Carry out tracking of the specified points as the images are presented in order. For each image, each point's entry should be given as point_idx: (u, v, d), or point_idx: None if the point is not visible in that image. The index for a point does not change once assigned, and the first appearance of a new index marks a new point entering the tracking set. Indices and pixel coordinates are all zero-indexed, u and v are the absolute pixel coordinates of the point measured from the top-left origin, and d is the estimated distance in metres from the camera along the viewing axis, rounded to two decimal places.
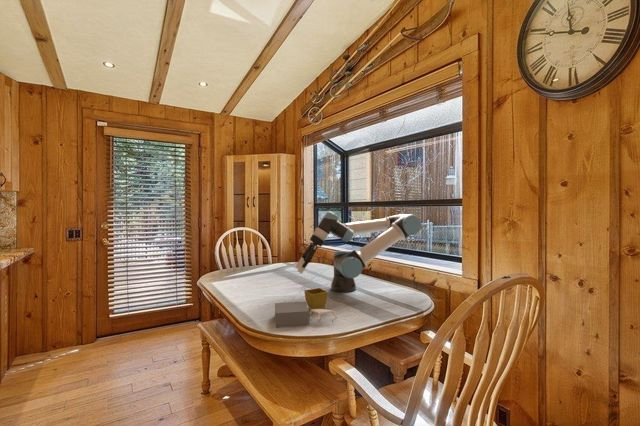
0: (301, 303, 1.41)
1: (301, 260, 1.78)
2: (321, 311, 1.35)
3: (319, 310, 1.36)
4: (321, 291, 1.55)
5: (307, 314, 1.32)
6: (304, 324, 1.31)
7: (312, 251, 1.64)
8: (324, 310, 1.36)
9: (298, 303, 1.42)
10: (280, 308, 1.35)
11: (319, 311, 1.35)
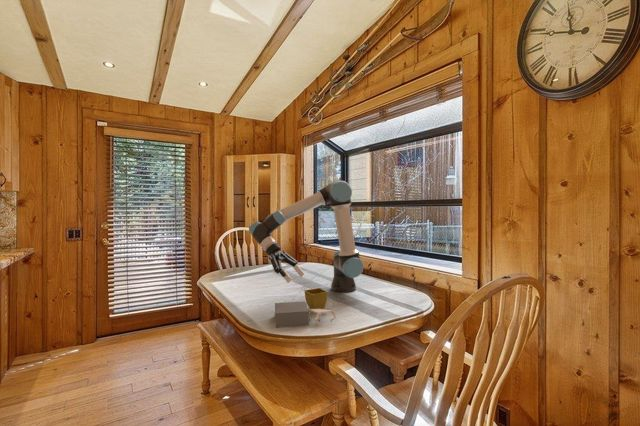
0: (301, 303, 1.41)
1: (295, 268, 1.64)
2: (320, 311, 1.35)
3: (318, 310, 1.36)
4: (321, 291, 1.55)
5: (307, 314, 1.32)
6: (304, 324, 1.31)
7: (272, 261, 1.53)
8: (323, 310, 1.36)
9: (298, 303, 1.42)
10: (280, 308, 1.35)
11: (318, 311, 1.35)
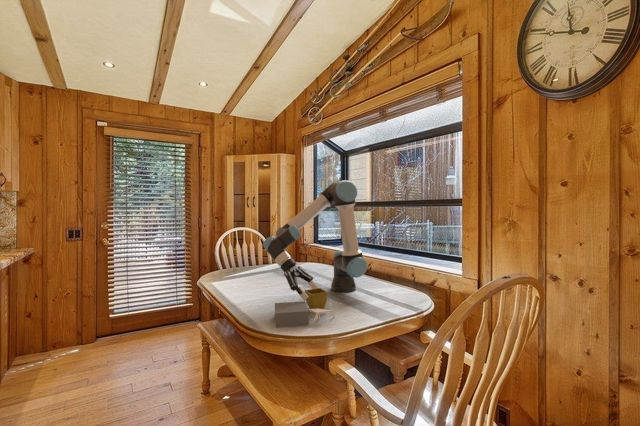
0: (301, 303, 1.41)
1: (311, 284, 1.60)
2: (319, 311, 1.35)
3: (317, 310, 1.36)
4: (321, 291, 1.55)
5: (307, 314, 1.32)
6: (304, 324, 1.31)
7: (287, 278, 1.49)
8: (322, 310, 1.36)
9: (298, 303, 1.42)
10: (280, 308, 1.35)
11: (317, 311, 1.35)
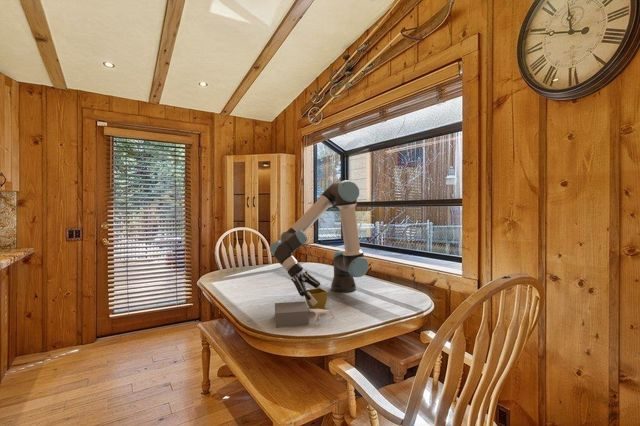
0: (301, 303, 1.41)
1: None
2: (319, 311, 1.35)
3: (317, 310, 1.36)
4: (321, 291, 1.55)
5: (307, 314, 1.32)
6: (304, 324, 1.31)
7: (295, 284, 1.48)
8: (322, 310, 1.36)
9: (298, 303, 1.42)
10: (280, 308, 1.35)
11: (317, 311, 1.35)
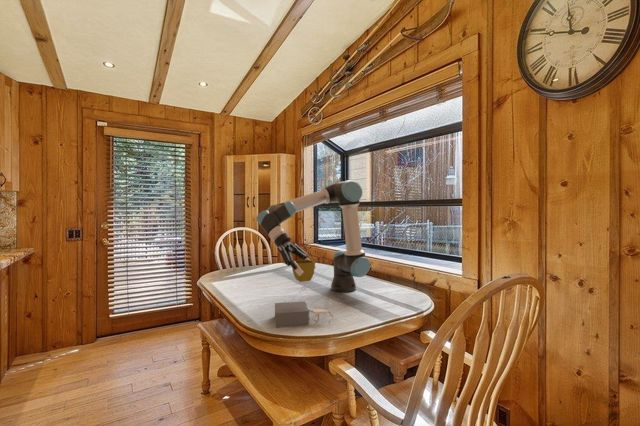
0: (301, 303, 1.41)
1: None
2: (318, 311, 1.35)
3: (316, 310, 1.36)
4: (309, 262, 1.49)
5: (307, 314, 1.32)
6: (304, 324, 1.31)
7: (282, 253, 1.42)
8: (321, 310, 1.36)
9: (298, 303, 1.42)
10: (280, 308, 1.35)
11: (316, 311, 1.35)
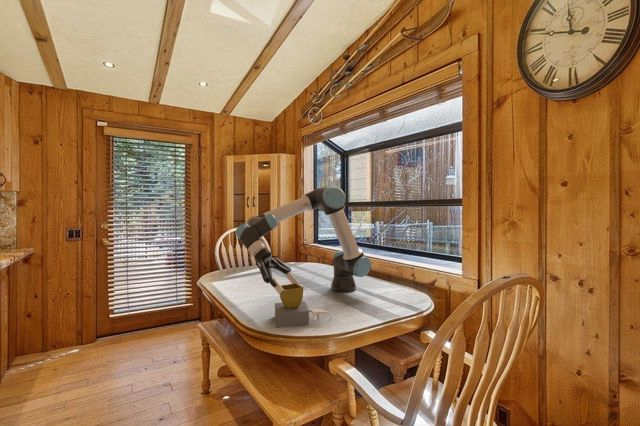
0: (301, 303, 1.41)
1: (288, 276, 1.44)
2: (317, 311, 1.35)
3: (315, 310, 1.36)
4: (297, 287, 1.41)
5: (307, 314, 1.32)
6: (304, 324, 1.31)
7: (261, 269, 1.34)
8: (320, 310, 1.36)
9: None
10: (280, 308, 1.35)
11: (315, 311, 1.35)
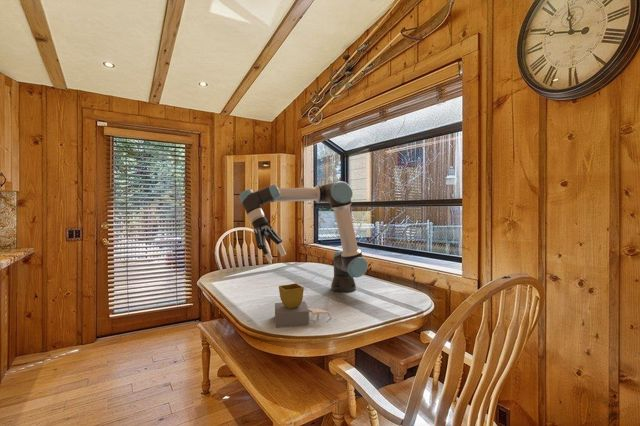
0: (301, 303, 1.41)
1: (278, 247, 1.57)
2: (316, 311, 1.35)
3: (315, 310, 1.36)
4: (297, 287, 1.41)
5: (307, 314, 1.32)
6: (304, 324, 1.31)
7: (256, 236, 1.46)
8: (320, 310, 1.36)
9: None
10: (280, 308, 1.35)
11: (314, 311, 1.35)
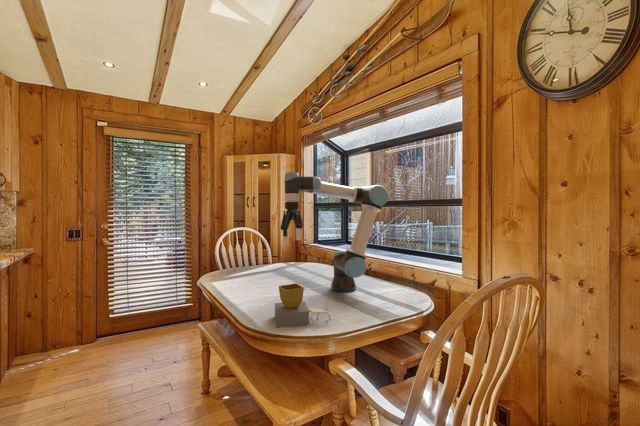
0: (301, 303, 1.41)
1: (297, 231, 1.72)
2: (316, 311, 1.35)
3: (314, 310, 1.36)
4: (297, 287, 1.41)
5: (307, 314, 1.32)
6: (304, 324, 1.31)
7: (284, 217, 1.59)
8: (319, 310, 1.36)
9: None
10: (280, 308, 1.35)
11: (314, 311, 1.35)
